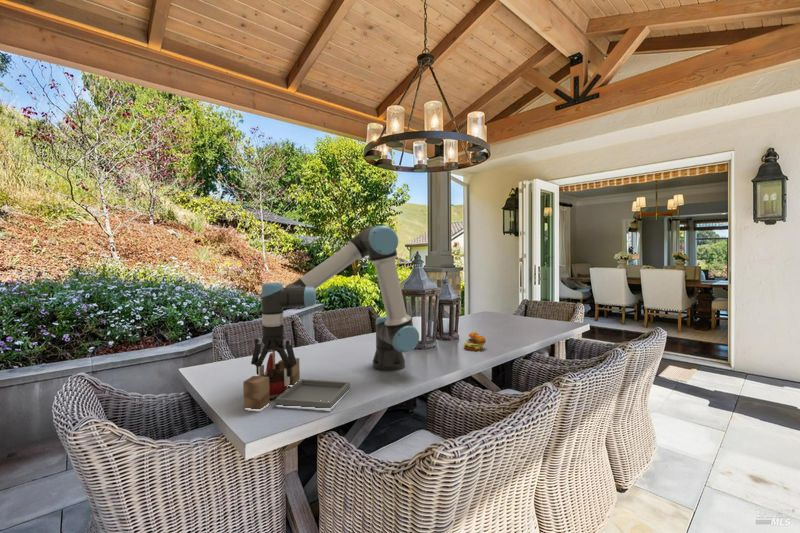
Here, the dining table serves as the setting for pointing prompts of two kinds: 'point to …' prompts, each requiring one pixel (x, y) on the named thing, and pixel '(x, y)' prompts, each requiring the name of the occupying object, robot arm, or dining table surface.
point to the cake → (275, 377)
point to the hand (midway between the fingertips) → (274, 384)
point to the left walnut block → (256, 392)
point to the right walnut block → (295, 371)
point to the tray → (313, 393)
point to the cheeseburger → (474, 342)
